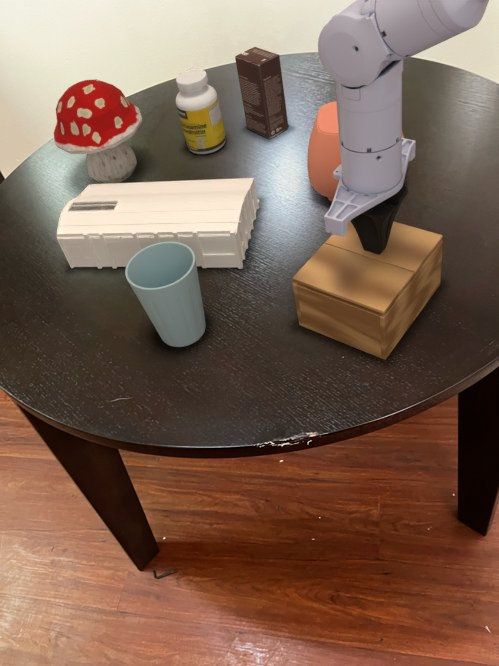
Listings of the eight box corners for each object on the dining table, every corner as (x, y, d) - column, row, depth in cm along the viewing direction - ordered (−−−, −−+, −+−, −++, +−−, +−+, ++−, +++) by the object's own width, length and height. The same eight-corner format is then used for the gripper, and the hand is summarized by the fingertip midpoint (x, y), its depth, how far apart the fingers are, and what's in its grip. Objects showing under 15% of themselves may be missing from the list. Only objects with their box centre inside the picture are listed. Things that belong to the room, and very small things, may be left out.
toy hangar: (265, 199, 92) (257, 156, 87) (246, 269, 82) (236, 225, 77) (103, 204, 98) (87, 164, 93) (68, 269, 88) (48, 229, 83)
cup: (139, 331, 78) (111, 267, 70) (190, 298, 80) (168, 231, 73) (174, 365, 73) (149, 299, 66) (227, 328, 76) (208, 260, 68)
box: (290, 127, 104) (280, 53, 95) (269, 140, 102) (257, 66, 94) (266, 116, 108) (254, 44, 99) (245, 128, 106) (232, 56, 97)
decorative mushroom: (65, 205, 100) (24, 116, 89) (81, 156, 109) (46, 70, 98) (153, 192, 98) (122, 99, 87) (161, 143, 107) (134, 54, 97)
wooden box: (357, 257, 80) (354, 209, 75) (440, 284, 75) (443, 234, 69) (299, 325, 74) (291, 278, 69) (385, 360, 68) (384, 312, 63)
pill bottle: (180, 147, 105) (161, 79, 97) (211, 129, 108) (195, 61, 99) (203, 160, 102) (185, 91, 93) (235, 142, 104) (220, 72, 95)
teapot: (402, 136, 97) (402, 56, 88) (411, 219, 83) (412, 135, 75) (312, 145, 99) (304, 68, 91) (307, 227, 86) (296, 146, 77)
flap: (354, 212, 75) (354, 209, 75) (442, 237, 70) (442, 235, 69) (325, 245, 72) (324, 242, 72) (414, 274, 67) (415, 271, 66)
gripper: (371, 92, 66) (375, 202, 75) (291, 168, 59) (306, 278, 68) (436, 103, 62) (431, 217, 72) (359, 186, 55) (365, 299, 65)
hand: (374, 248), depth 70 cm, fingers closed, pressing on flap
